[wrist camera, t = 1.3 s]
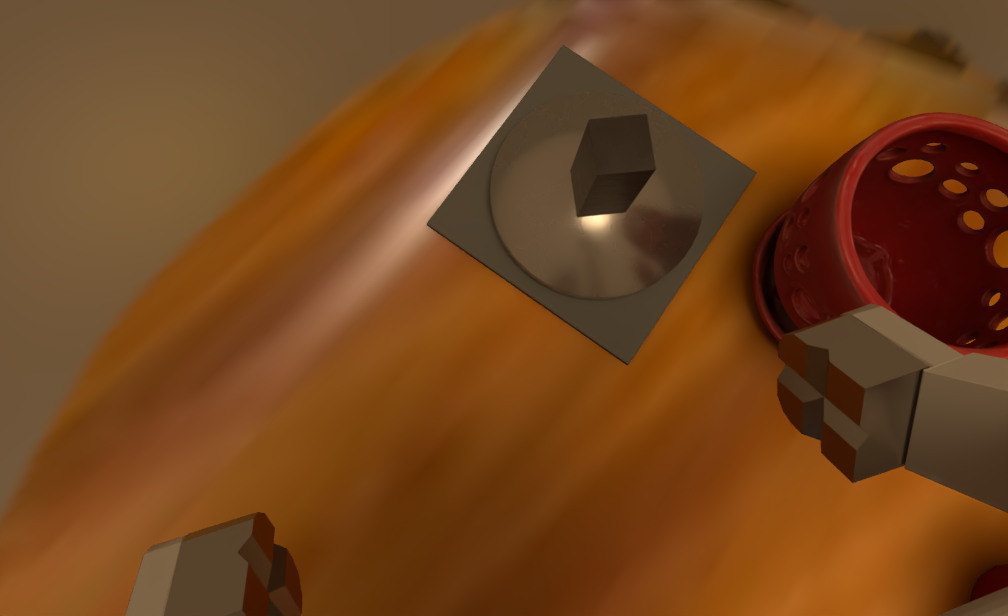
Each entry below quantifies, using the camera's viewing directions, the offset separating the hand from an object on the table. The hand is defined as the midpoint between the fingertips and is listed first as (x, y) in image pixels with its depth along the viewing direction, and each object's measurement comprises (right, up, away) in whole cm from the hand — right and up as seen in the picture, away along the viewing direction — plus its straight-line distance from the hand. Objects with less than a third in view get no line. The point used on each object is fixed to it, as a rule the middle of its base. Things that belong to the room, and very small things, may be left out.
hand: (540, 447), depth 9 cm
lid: (+6, +9, +32) cm, 34 cm away
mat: (+6, +9, +33) cm, 34 cm away
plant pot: (+21, +4, +32) cm, 39 cm away
